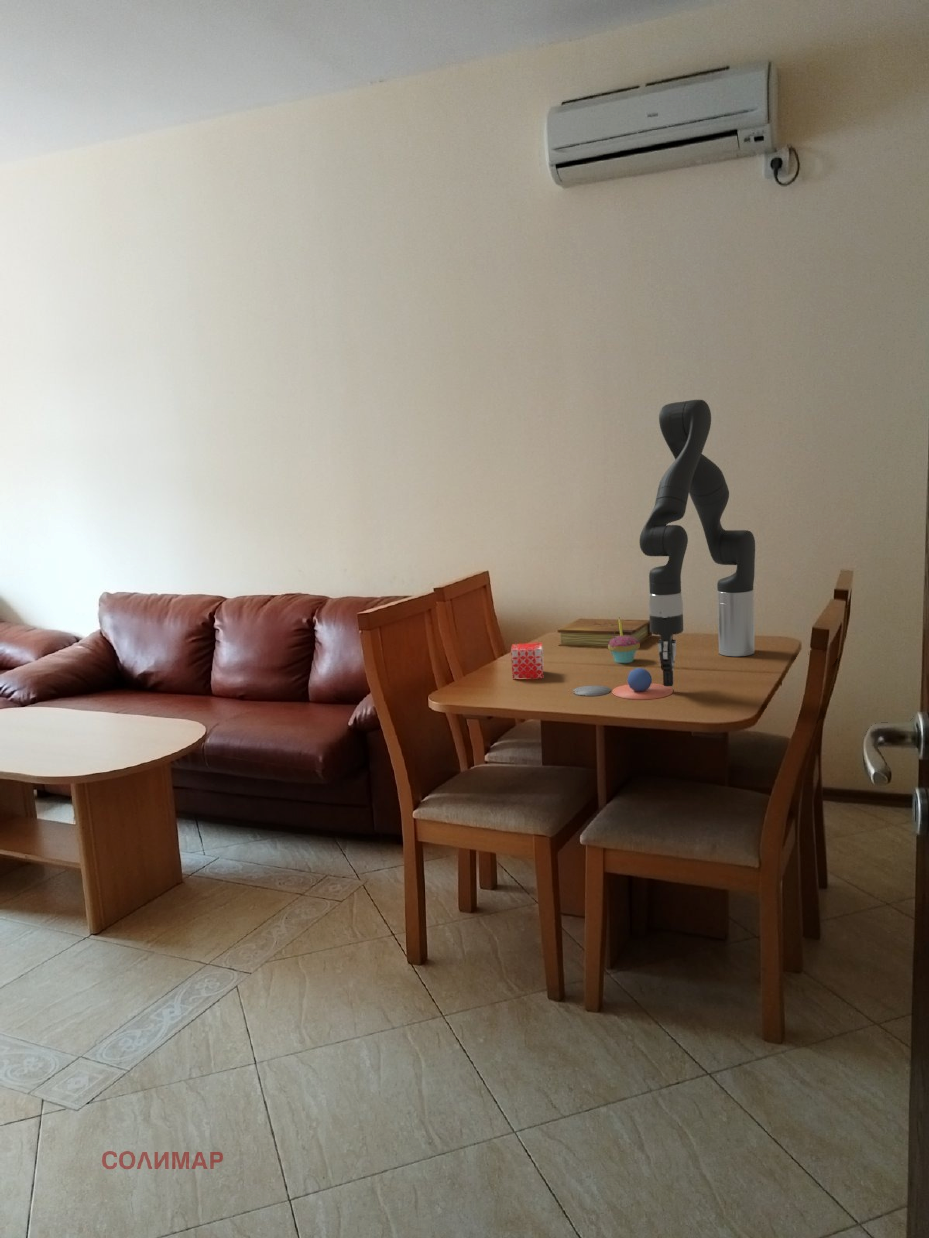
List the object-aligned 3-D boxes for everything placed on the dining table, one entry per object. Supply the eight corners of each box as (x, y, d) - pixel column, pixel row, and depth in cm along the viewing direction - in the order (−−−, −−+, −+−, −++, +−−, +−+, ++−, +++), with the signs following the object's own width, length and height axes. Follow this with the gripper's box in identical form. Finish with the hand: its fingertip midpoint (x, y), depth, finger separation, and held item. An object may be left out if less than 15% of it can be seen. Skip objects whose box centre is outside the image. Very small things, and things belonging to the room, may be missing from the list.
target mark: (616, 683, 214) (616, 682, 214) (675, 684, 210) (675, 683, 210) (608, 699, 201) (608, 698, 201) (670, 699, 197) (670, 699, 196)
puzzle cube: (514, 673, 233) (512, 644, 232) (543, 671, 232) (542, 642, 231) (512, 680, 225) (510, 650, 224) (543, 679, 224) (541, 649, 223)
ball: (652, 666, 207) (654, 690, 207) (629, 667, 209) (630, 690, 209) (649, 668, 201) (650, 692, 201) (624, 669, 203) (626, 693, 203)
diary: (652, 638, 267) (651, 619, 266) (632, 651, 251) (631, 631, 250) (581, 635, 278) (581, 617, 277) (558, 647, 263) (557, 628, 262)
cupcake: (603, 660, 239) (601, 617, 237) (630, 656, 242) (629, 613, 240) (618, 666, 231) (616, 622, 229) (646, 662, 234) (644, 618, 232)
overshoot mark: (576, 686, 214) (576, 685, 214) (613, 686, 212) (613, 685, 212) (569, 695, 206) (569, 695, 206) (607, 696, 203) (607, 695, 203)
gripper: (652, 607, 207) (654, 678, 210) (646, 617, 195) (649, 692, 198) (684, 607, 205) (686, 678, 208) (681, 617, 193) (683, 693, 196)
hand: (668, 685), depth 203 cm, fingers closed
